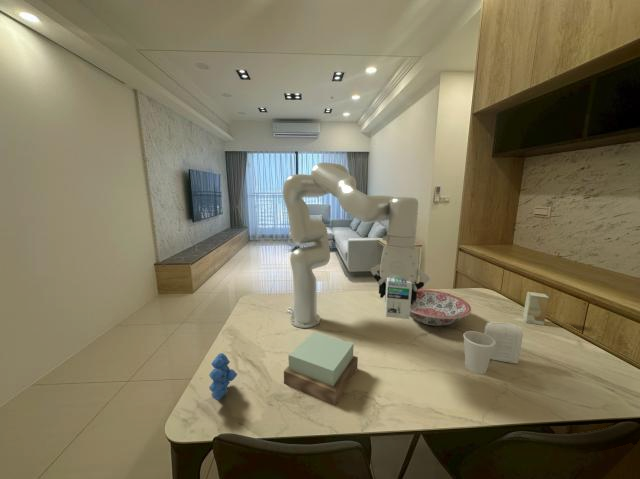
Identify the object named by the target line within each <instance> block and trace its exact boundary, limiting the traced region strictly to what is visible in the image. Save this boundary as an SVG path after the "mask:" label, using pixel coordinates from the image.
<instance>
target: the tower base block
mask: <svg viewBox="0 0 640 479" xmlns="http://www.w3.org/2000/svg"><path fill="white" fill-rule="evenodd" d="M358 358H359V357H358V356H356V355H353V358H352V360H351V361H350V363H349V364H348V366H347V367H346V368H345V370H344V371H343V373H342V374H341V376H340V377H339V379H338V380H337V382H336V383H335V385H334V386H331V385H328V384H326V383H323V382H320V381H318V380H315V379H313V378H310V377H308V376H305V375H302V374H300V373H297V372H295V371H292V370H289V365H288V366H287V367H286V368H285V369H284V370H283V384H285V385H287V386H290V387H291V388H294V389H296V390H298V391H301V392H303V393H306V394H308V395H310V396H312V397H314V398H317V399H319V400H322V401H325V402H326V403H329V404H332V405H334V406H335V405H337V403H338V401H339V399H340V398H341V396H342V394H344V392H345V390H346V388H347V386H348V385H349V383H350V382H351V379H352V378H353V377H354V375H355V374H356V372H357V370H358V365H359V364H358V360H359V359H358Z"/></svg>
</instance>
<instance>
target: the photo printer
mask: <svg viewBox="0 0 640 479" xmlns="http://www.w3.org/2000/svg"><path fill="white" fill-rule="evenodd" d="M483 333H484V334H487V335H489V336H490V337H492V338H493V339H494V340H495V345H494V347H493V351H492V354H491V357H490V360H492V361H499V362H505V363H510V364H519V362H520V354H521V348H522V343H523V337H524V333H523V329H522V328H521V327H520V326H518V325H516V324H513V323H509V322H502V321H492V322H491V321H490V322H486V323H485V326H484V332H483Z"/></svg>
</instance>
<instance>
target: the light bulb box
mask: <svg viewBox="0 0 640 479" xmlns="http://www.w3.org/2000/svg"><path fill="white" fill-rule="evenodd" d="M385 283H386V288H385V295H384V310H385V311H384V312H385V317H386V318H395V319H403V320H410V319H411V317H410V306H411V293H412V282H410V281H405V280H400V279H394V278H387V280H385Z"/></svg>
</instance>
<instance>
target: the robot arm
mask: <svg viewBox="0 0 640 479" xmlns="http://www.w3.org/2000/svg"><path fill="white" fill-rule="evenodd" d="M329 194H330V195H332V196H333V197H335V198H336V199H337V200H338V202H339V203H338V204H340V207H341V209H343V210H344V211H345V212H346V213H347V214H349V215H350V216H352V217H353V218H354V219H357V220H359V221H360V222H364V223H375V222H385V221H388V229H387V234H386V235H382V240H383V241H386V244H384V245H383V248H382V252H381V258H380V259H381V260H380V263H379V264H376V265H375V266H373V267H371V268H370V272H371V274H372V275H373V279H375V281H376V282H377V283H378V286H379V287H378V294H379V298H385V288H386V280H387V278H394V279H400V280H405V281H410V282H412V293H411V304H413V302H414V301H416V298H417V290H418V289H422V288H423V287H424V286H425V285H426V284H427V283H428V282H429V281H430V275H428V274H427V273H425V272H424V271H423V270H421V268H419V252H418V251H419V250H418V247H417V246H416V238H417V237H416V236H417V226H418V214H419V213H418V212H419V211H418V210H419V201H418V200H419V199H417V198H415V197H411V196H409V197H408V196H406V197H405V196H397V197H396V196H392V195H391V196H390V195H367V194H365V193H364V192H362V191H360V190H358V189H357V180H356V179H355V177H354V176H352V175H350V174H349V171H348V169H347V167H346V166H344V165H342V164H340V163H332V162H319V163H317V164H315V165H314V166H313V168H312V169H311V172H310V174H302V173H301V174H297V173H296V174H292V175H289V176H288V177H287V178H286V179H285V181H284V182H283V186H282V197H283V200H284V201H283V202H284V205H285V207H286V210H287V217H288V224H289V225H288V226H289V233H290V236H291V237H290V238H291V240H292V241H293V243H294V244H296V245H302V244H303V245H304V244H310V243H311V245H308V246H302V247H299V248H297V249H295V250H293V251H292V253H291V254H290V256H289V257H290V258H289V259H290V260H289V261H290V266H291V271H292V281H293V282H292V283H293V286H292V287H293V306H288V308H287V312H286V313H287V314H290V315H291V317H290V323H291V325H293V326H294V327H297V328H299V329H300V328H301V329H306V328H307V329H308V328H313V327H315V326H318V325H319V324H320V323H321V316H320V315H319V314H318V311H317V310H318V306H317V302H318V301H317V300H318V298H317V294H318V293H317V290H318V289H317V278H316V276H315V274H314V272H313V270H314V269H318V268H321V267H324V266H326V265H328V263H329V262H330V261H331V260H330V259H331V252H330V251H331V250H330V240H329V235H328V229H327V226H326V224H325V223H324V221H322V220H321V219H318V218H312V219H311V217H310V211H309V207H308V205H307V203H306V201H304V199H303V198H311V197H312V198H317V197H318V198H320V197H323V196H326V195H329ZM378 271H379V272H378ZM418 276H419V277H420V278H422V280H421V281H419V282H417V279H418Z"/></svg>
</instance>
